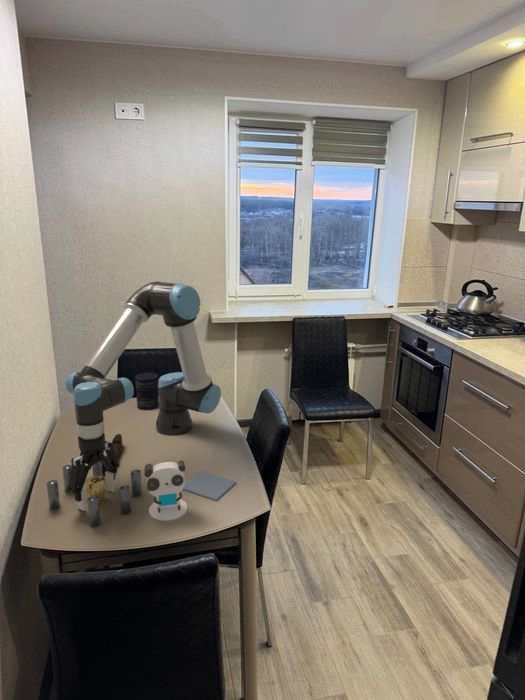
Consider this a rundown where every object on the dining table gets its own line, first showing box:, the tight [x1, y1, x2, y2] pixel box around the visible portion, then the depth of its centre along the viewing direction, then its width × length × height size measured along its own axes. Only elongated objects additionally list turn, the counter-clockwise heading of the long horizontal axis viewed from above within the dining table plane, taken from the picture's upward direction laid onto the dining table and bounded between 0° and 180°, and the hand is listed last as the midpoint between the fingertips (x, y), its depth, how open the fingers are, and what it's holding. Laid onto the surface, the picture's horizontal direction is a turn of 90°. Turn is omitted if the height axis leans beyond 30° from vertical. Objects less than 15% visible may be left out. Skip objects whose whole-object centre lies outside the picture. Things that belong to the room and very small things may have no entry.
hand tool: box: [102, 433, 123, 475], centre depth 171 cm, size 23×5×6 cm, turn 2°
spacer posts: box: [46, 461, 143, 528], centre depth 145 cm, size 20×27×8 cm
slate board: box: [182, 470, 237, 502], centre depth 155 cm, size 12×14×1 cm
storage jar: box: [135, 372, 159, 411], centre depth 218 cm, size 10×10×15 cm
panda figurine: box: [143, 459, 188, 522], centre depth 141 cm, size 12×11×15 cm
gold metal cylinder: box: [84, 475, 107, 506], centre depth 145 cm, size 6×6×7 cm
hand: (96, 499), depth 146 cm, fingers open, 11 cm apart
